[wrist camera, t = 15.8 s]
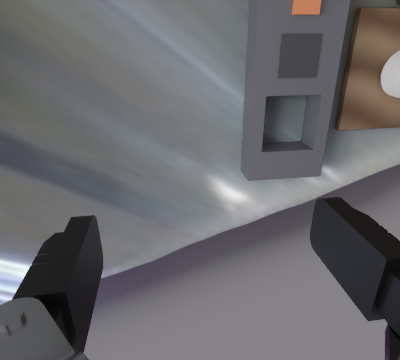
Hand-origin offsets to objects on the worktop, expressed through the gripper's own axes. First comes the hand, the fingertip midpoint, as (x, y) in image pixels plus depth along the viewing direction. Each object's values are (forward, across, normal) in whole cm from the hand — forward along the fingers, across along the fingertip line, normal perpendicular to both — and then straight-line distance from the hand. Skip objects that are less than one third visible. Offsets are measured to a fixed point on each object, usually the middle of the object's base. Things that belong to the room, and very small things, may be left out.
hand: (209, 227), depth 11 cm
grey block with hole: (+33, -16, 0) cm, 37 cm away
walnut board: (+33, -33, -2) cm, 47 cm away
